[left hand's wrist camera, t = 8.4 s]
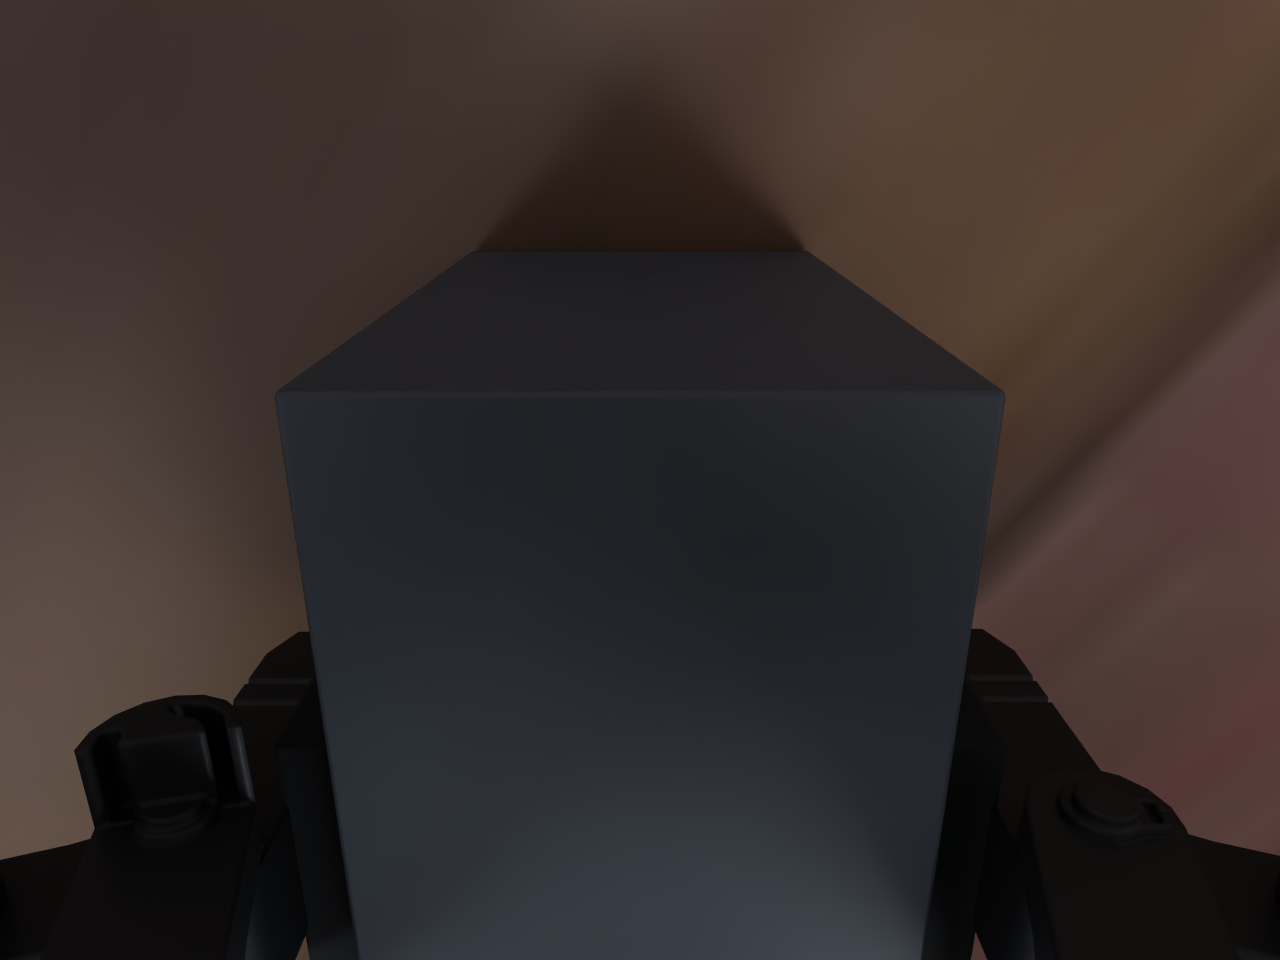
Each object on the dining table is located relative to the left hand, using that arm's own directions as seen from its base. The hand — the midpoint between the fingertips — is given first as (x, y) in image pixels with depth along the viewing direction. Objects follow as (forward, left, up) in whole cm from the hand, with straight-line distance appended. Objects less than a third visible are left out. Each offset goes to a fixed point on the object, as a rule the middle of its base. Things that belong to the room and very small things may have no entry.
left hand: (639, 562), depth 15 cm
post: (+25, -18, -1) cm, 31 cm away
